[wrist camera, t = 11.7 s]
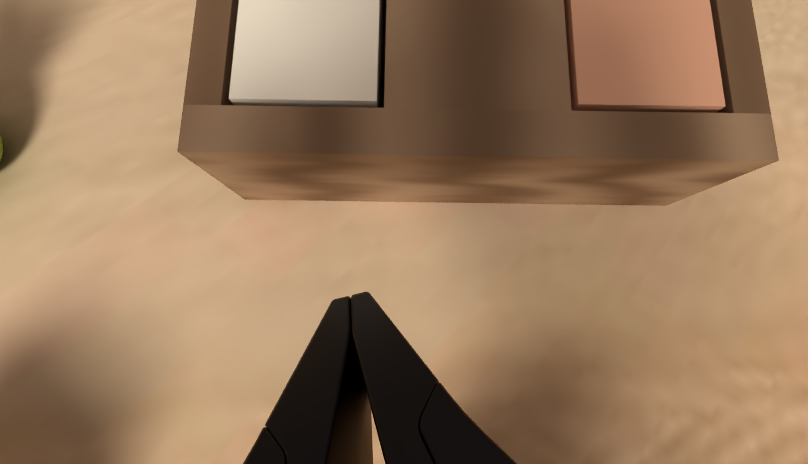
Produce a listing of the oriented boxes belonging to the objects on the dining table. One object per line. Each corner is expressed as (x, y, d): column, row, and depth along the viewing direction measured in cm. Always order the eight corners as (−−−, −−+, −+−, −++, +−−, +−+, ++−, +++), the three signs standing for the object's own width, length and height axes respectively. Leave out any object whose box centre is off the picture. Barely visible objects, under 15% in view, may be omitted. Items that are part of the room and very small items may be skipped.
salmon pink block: (621, 72, 25) (706, -21, 18) (630, 166, 23) (725, 106, 17) (522, 70, 25) (569, -24, 18) (526, 164, 23) (578, 103, 16)
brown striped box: (647, 38, 25) (739, -65, 18) (665, 205, 23) (778, 160, 16) (260, 32, 25) (205, -74, 18) (244, 199, 23) (177, 151, 16)
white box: (386, 68, 24) (380, -27, 18) (383, 162, 23) (376, 100, 16) (286, 66, 24) (241, -29, 18) (279, 161, 23) (228, 98, 16)
